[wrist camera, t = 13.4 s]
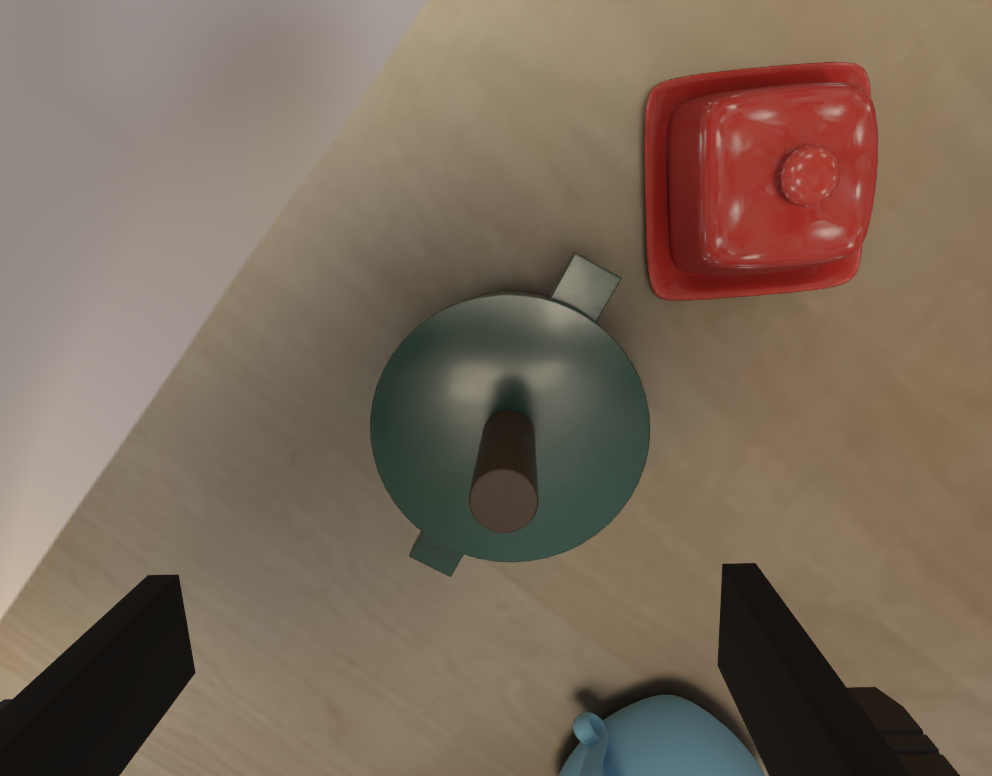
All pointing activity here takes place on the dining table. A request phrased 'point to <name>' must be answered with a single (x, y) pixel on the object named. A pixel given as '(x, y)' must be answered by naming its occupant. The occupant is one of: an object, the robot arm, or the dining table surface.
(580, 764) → the teapot
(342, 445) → the dining table surface
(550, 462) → the pot lid
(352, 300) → the dining table surface
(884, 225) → the dining table surface
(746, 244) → the butter dish
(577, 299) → the pot
